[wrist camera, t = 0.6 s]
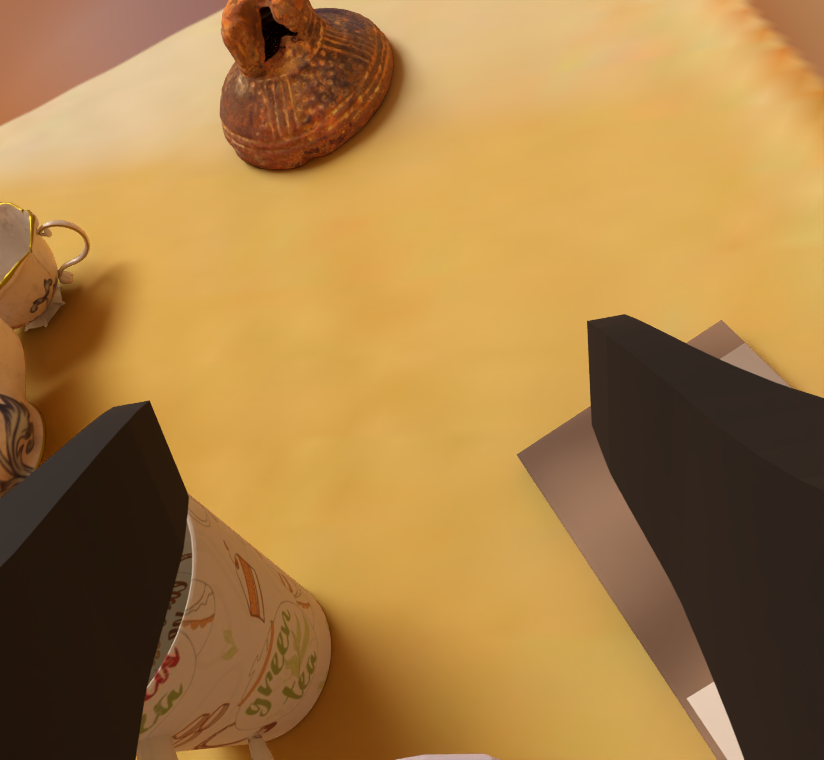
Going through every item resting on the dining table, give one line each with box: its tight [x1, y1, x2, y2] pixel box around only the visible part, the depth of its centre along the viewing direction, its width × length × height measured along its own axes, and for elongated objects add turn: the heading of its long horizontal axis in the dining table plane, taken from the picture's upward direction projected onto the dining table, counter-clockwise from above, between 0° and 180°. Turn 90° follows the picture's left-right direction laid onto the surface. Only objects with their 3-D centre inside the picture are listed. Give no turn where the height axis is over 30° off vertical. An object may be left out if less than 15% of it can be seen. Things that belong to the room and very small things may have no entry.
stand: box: [517, 320, 792, 760], centre depth 23 cm, size 18×9×1 cm, turn 26°
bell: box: [220, 0, 393, 169], centre depth 44 cm, size 12×12×7 cm
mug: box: [136, 494, 331, 760], centre depth 24 cm, size 8×13×10 cm, turn 31°
